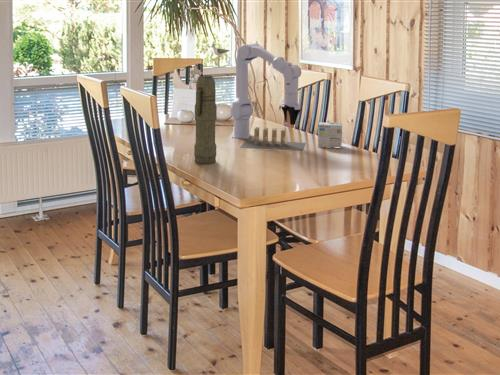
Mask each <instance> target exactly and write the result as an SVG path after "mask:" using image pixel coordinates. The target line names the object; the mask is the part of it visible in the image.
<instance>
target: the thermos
mask: <svg viewBox="0 0 500 375" xmlns="http://www.w3.org/2000/svg"><path fill="white" fill-rule="evenodd" d="M195 85H196V86H195V88H196V89H195V91H196V92H195V103H194V121H195V143H194V145H193V146H194V149H193V151H194V152H193V154H194V155H193V156H194V162H195V164H199V165H212V164H216V162H217V160H216V159H217V158H216V157H217V143H216V121H217V120H218V119H217V113H218V112H217V110H218V109H217V107H218V106H217V102H216V91H217V90H216V82H215V77H213V76H212V75H208V74H207V75H206V74H205V75H204V74H203V75H199V76H198V77H197V80H196V84H195Z"/></svg>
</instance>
